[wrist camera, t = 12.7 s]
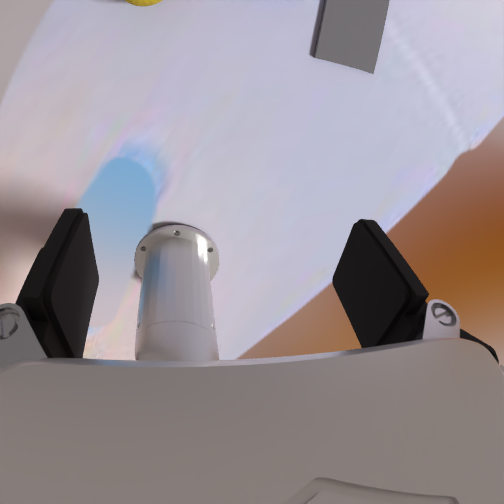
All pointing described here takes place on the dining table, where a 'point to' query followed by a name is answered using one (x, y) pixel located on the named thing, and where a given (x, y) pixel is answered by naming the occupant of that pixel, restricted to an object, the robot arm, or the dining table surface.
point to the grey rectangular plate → (351, 32)
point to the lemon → (143, 2)
